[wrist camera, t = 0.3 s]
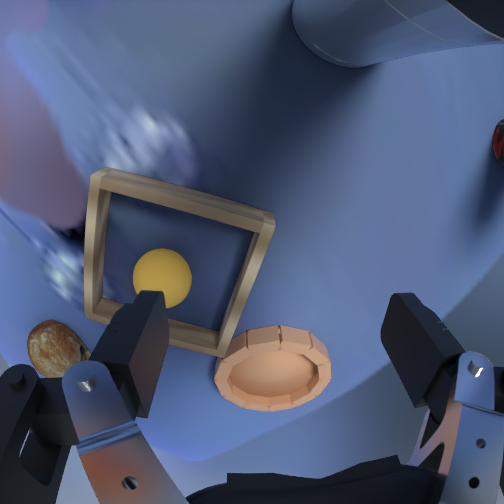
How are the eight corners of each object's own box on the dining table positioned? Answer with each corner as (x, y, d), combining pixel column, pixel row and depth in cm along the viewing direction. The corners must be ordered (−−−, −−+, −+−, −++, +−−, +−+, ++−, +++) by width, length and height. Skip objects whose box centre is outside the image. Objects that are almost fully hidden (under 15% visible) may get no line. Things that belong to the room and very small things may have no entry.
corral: (105, 166, 24) (90, 174, 21) (273, 213, 27) (276, 226, 24) (94, 301, 31) (84, 317, 28) (225, 339, 34) (223, 358, 31)
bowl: (234, 314, 32) (233, 329, 30) (346, 338, 34) (351, 352, 32) (206, 386, 38) (205, 400, 36) (299, 401, 40) (301, 415, 38)
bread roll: (100, 352, 40) (104, 388, 34) (49, 369, 37) (46, 405, 30) (72, 301, 36) (68, 335, 29) (18, 322, 32) (7, 356, 26)
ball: (146, 231, 27) (127, 259, 22) (201, 247, 28) (192, 278, 23) (139, 278, 30) (122, 310, 25) (189, 292, 31) (180, 327, 26)
